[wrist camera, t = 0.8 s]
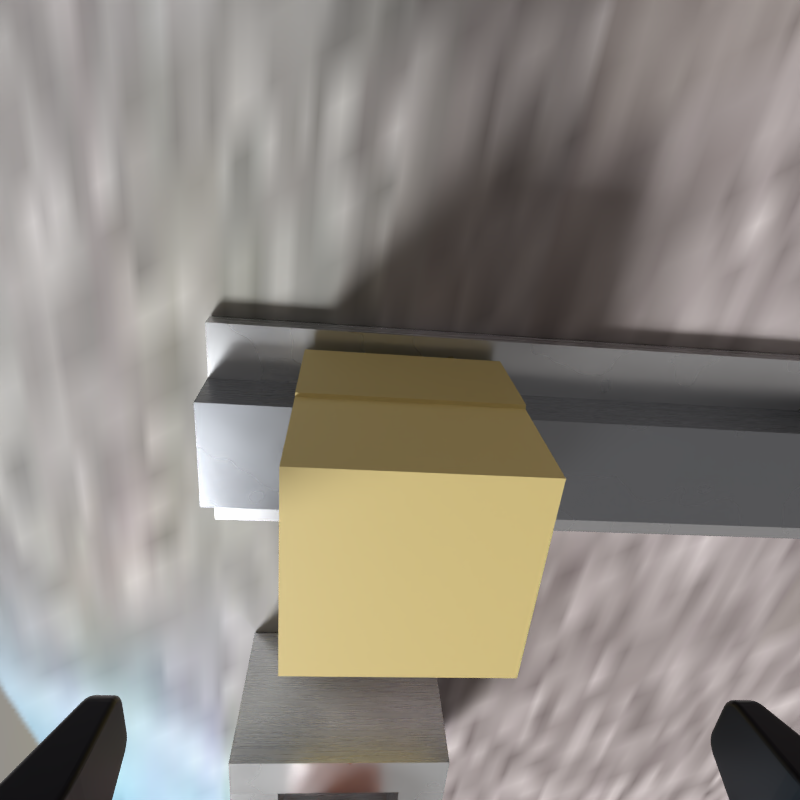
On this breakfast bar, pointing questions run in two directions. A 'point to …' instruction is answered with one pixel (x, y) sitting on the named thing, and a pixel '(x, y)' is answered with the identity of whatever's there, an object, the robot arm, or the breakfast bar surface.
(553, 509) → the carriage
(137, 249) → the breakfast bar surface
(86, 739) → the robot arm
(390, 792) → the cabinet
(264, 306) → the breakfast bar surface
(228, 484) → the rail
